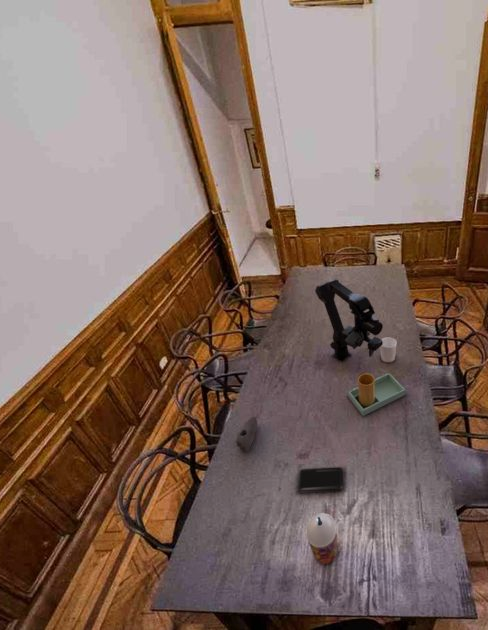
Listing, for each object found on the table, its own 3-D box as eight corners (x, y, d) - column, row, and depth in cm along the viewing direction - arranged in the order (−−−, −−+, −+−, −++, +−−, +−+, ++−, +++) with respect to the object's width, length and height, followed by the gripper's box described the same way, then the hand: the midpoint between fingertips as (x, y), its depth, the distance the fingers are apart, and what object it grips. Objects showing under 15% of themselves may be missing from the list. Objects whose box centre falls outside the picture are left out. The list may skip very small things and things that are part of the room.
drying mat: (363, 410, 141) (363, 410, 141) (354, 398, 147) (353, 397, 147) (379, 402, 144) (379, 402, 144) (369, 390, 150) (369, 390, 150)
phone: (342, 489, 113) (297, 490, 113) (342, 490, 114) (298, 492, 114) (342, 466, 120) (300, 468, 120) (343, 468, 120) (300, 470, 120)
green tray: (363, 416, 139) (362, 410, 137) (348, 397, 148) (347, 391, 146) (405, 395, 148) (405, 389, 146) (388, 378, 157) (388, 372, 155)
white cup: (395, 364, 164) (395, 348, 159) (378, 362, 166) (378, 346, 160) (396, 353, 170) (397, 338, 165) (381, 352, 172) (381, 336, 166)
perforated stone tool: (251, 422, 139) (247, 411, 135) (263, 423, 138) (259, 412, 134) (235, 455, 126) (230, 443, 123) (248, 456, 126) (244, 445, 122)
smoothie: (323, 530, 104) (316, 495, 93) (345, 547, 100) (341, 513, 88) (305, 556, 98) (295, 522, 87) (328, 576, 94) (321, 543, 83)
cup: (355, 398, 146) (354, 377, 140) (368, 391, 149) (368, 371, 142) (364, 408, 141) (363, 387, 135) (377, 401, 144) (377, 380, 138)
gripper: (332, 326, 145) (335, 354, 154) (367, 341, 135) (368, 370, 144) (348, 314, 152) (350, 341, 161) (383, 328, 142) (383, 356, 151)
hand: (362, 352), depth 154 cm, fingers open, 9 cm apart
